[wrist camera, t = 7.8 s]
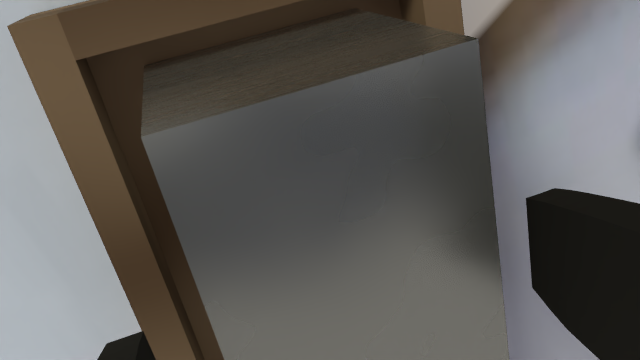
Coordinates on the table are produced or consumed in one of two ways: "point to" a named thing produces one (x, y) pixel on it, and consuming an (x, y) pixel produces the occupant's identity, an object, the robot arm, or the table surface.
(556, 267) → the robot arm
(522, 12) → the table surface
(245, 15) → the shallow wooden tray
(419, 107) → the grey speckled stone block
